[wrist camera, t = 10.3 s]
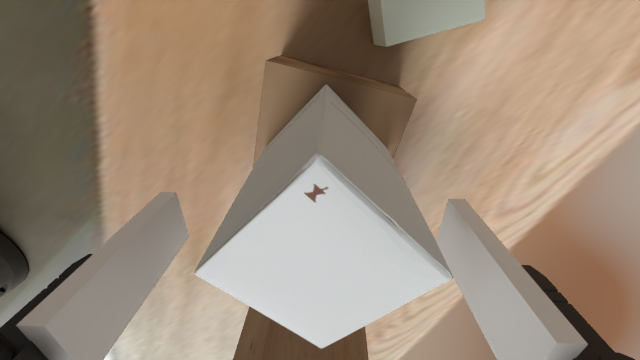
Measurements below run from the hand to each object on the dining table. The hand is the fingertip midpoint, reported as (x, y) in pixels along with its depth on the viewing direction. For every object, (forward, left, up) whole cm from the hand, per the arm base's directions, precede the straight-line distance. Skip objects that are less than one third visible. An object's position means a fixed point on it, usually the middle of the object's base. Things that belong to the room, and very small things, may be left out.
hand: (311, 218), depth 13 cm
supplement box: (0, 0, -9) cm, 9 cm away
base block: (0, 0, -15) cm, 15 cm away
